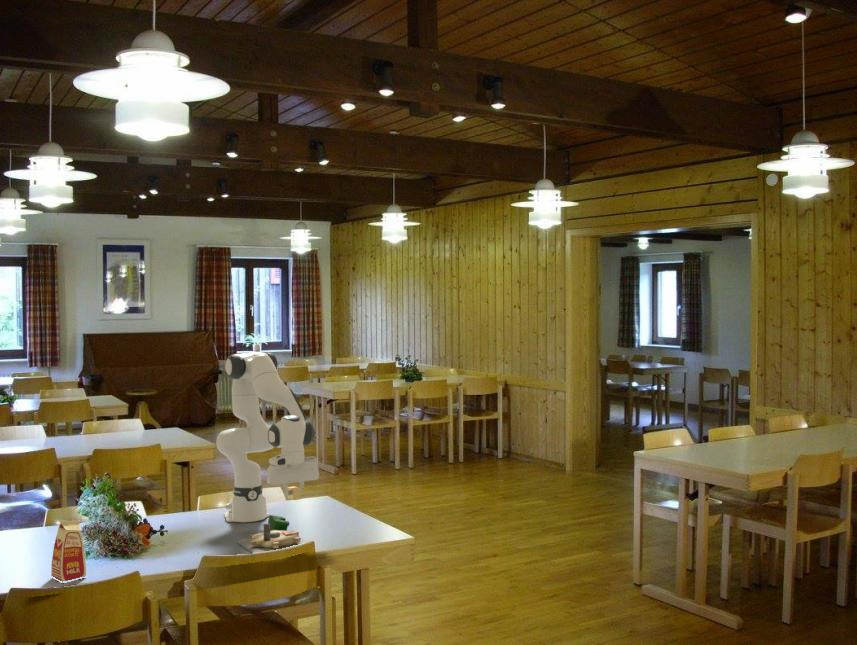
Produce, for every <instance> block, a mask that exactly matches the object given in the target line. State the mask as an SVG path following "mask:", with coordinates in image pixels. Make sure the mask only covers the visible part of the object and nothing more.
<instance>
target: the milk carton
mask: <svg viewBox="0 0 857 645" xmlns="http://www.w3.org/2000/svg"><path fill="white" fill-rule="evenodd" d="M80 523H82V520H80V519H79V520H63V519H61V520H60V524H59V526H58V529H57V533H56V537H55V540H54V545H53V551H52V558H51V571H50V572H51V576H53V577H55V578H56V579H58V580H60V581H62V582H63V581H68V580H72V579H76V578H80V577H85V576H86V577H87V566H86V565H87V564H86V555H85V545H84V540H83V535H82V529H81V525H80Z"/></svg>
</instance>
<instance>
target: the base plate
mask: <svg viewBox="0 0 857 645" xmlns="http://www.w3.org/2000/svg"><path fill="white" fill-rule="evenodd" d="M299 537H300V540H301V542H300V543H294V544H291V545H288V546H283V547H279V548H265V547H257V546H255V547H251V546H250V541H252V540H249V538H246V539H238V540H236V542H238V543H237V544H239V545H240V546H241V545H242V546H241V547H243V548H244V549H245V550H247V551H249V553H251V552H263V551H270V550H276V549H282V548H286V547H290V546H293V545H298V544H302V543H304V542H307V541H308V540H306V539H305V538H303V537H301V536H299Z"/></svg>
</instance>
